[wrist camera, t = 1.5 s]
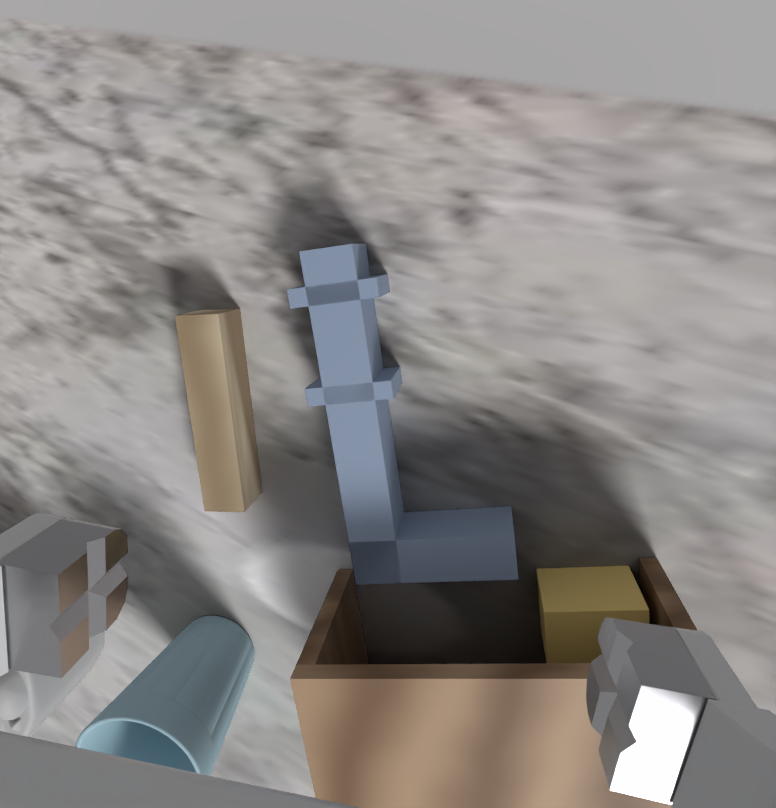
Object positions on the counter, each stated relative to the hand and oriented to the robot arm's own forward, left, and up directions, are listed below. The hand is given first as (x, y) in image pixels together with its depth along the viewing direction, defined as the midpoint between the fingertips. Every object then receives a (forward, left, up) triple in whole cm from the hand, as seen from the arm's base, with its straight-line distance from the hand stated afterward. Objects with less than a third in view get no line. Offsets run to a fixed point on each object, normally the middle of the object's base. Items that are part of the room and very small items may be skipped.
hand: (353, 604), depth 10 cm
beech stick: (+14, +2, -25) cm, 28 cm away
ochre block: (-7, +17, -25) cm, 31 cm away
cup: (+19, +20, -25) cm, 37 cm away
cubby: (-1, +19, -24) cm, 31 cm away
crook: (+2, +3, -24) cm, 25 cm away
